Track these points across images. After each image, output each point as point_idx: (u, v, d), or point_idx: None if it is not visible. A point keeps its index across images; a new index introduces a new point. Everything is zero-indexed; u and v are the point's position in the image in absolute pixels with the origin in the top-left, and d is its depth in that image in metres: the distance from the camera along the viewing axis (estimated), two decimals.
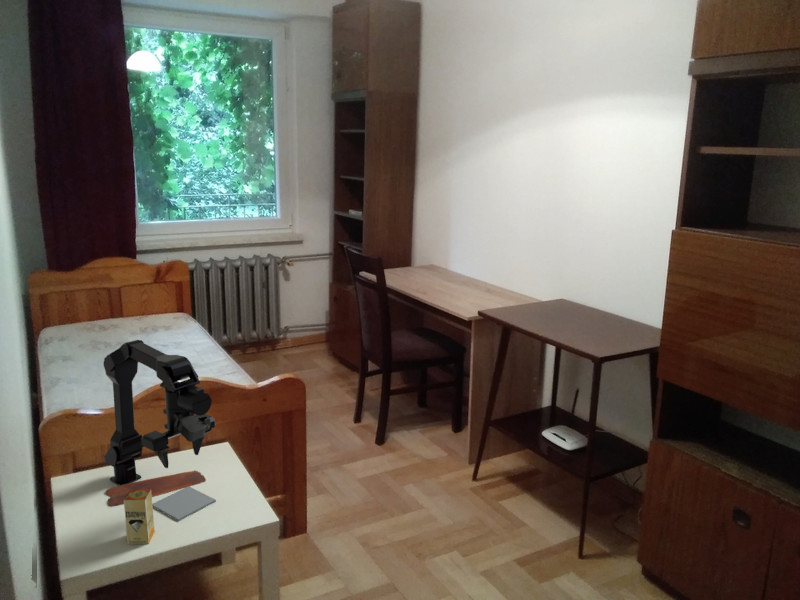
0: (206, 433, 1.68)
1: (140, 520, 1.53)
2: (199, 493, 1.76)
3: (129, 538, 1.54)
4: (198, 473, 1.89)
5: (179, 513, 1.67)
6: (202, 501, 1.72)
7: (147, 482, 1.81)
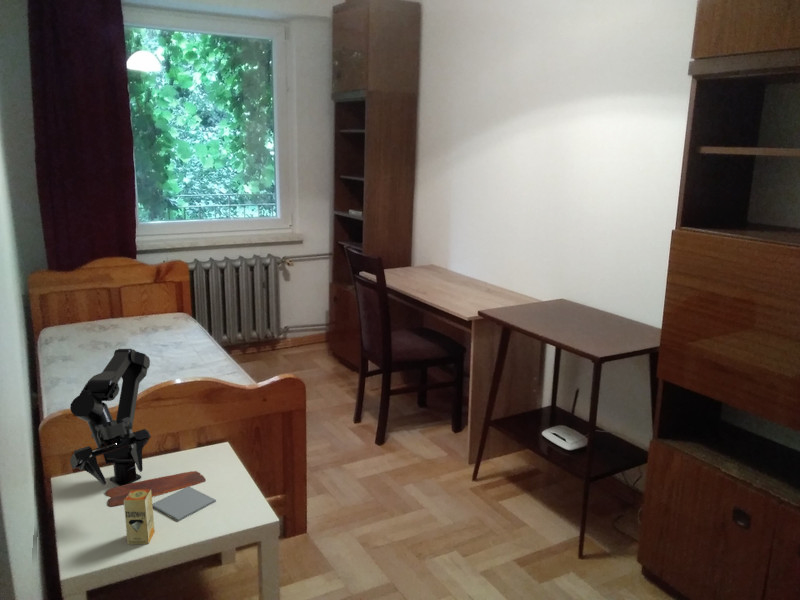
0: (142, 444, 1.64)
1: (140, 520, 1.53)
2: (199, 493, 1.76)
3: (129, 538, 1.54)
4: (198, 473, 1.88)
5: (179, 513, 1.67)
6: (202, 501, 1.72)
7: (147, 482, 1.81)
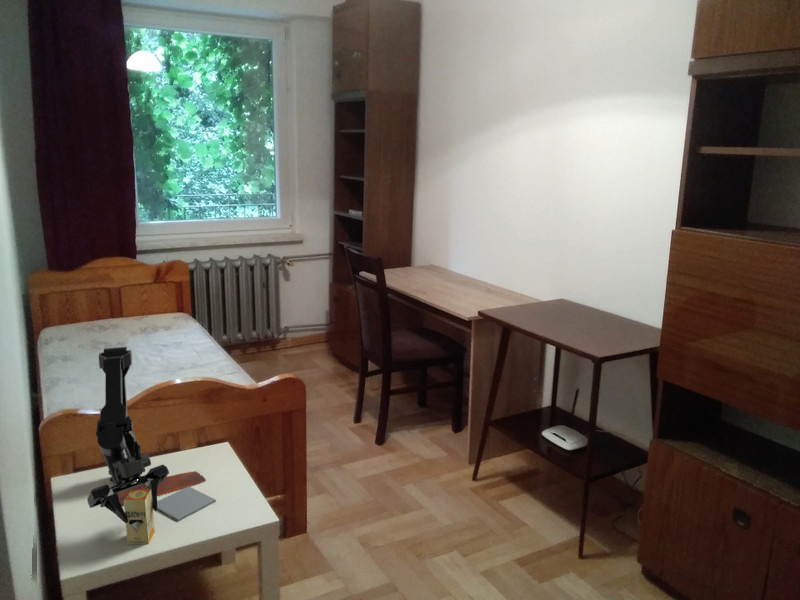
0: (156, 482, 1.59)
1: (140, 520, 1.53)
2: (199, 493, 1.76)
3: (129, 538, 1.54)
4: (197, 473, 1.88)
5: (179, 513, 1.67)
6: (202, 501, 1.72)
7: None
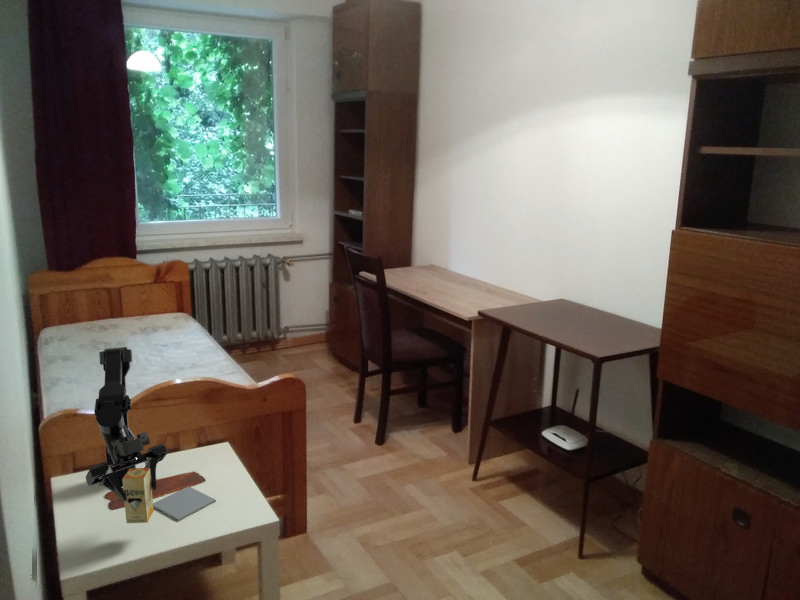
0: (155, 461, 1.58)
1: (139, 498, 1.52)
2: (199, 493, 1.76)
3: (127, 517, 1.53)
4: (197, 474, 1.88)
5: (179, 513, 1.67)
6: (202, 501, 1.72)
7: None
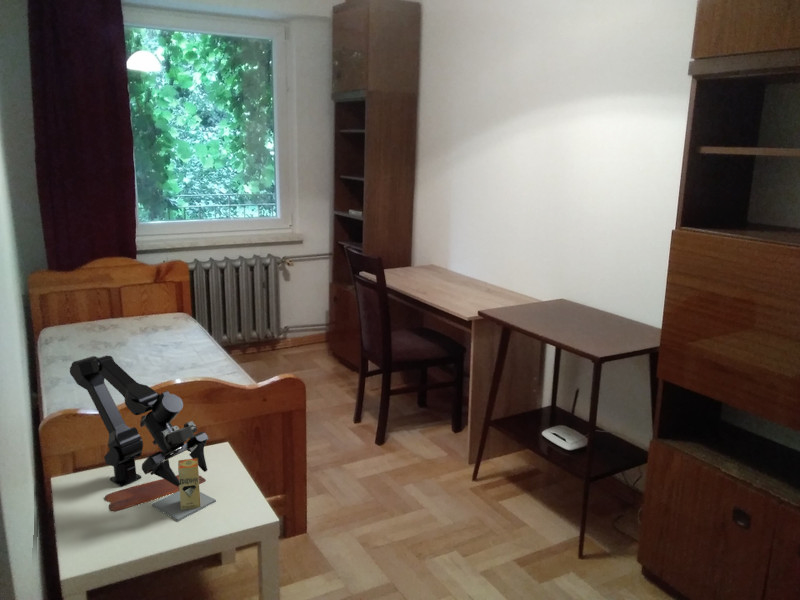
0: (203, 446, 1.74)
1: (193, 486, 1.68)
2: None
3: (182, 504, 1.68)
4: None
5: (179, 513, 1.67)
6: (202, 501, 1.72)
7: (146, 486, 1.80)
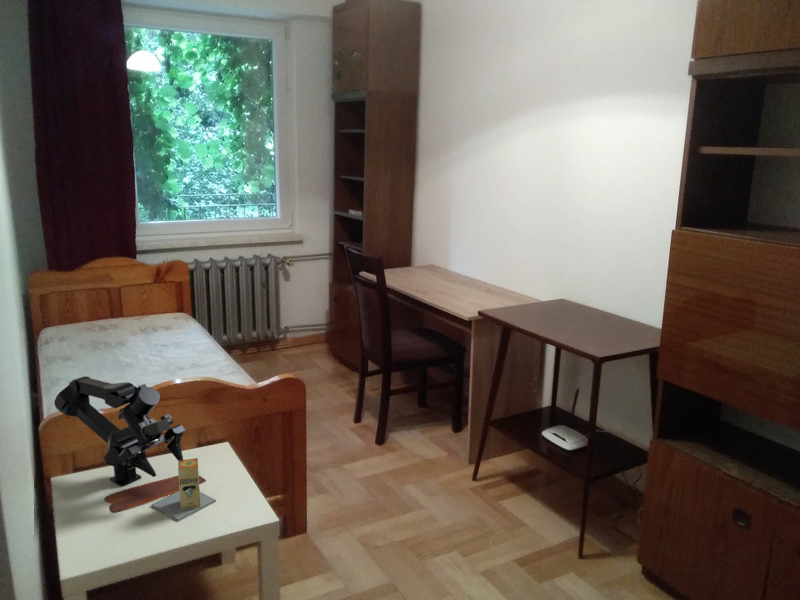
0: (179, 438, 1.79)
1: (193, 486, 1.68)
2: None
3: (182, 504, 1.68)
4: None
5: (179, 513, 1.67)
6: (202, 501, 1.72)
7: (146, 486, 1.79)
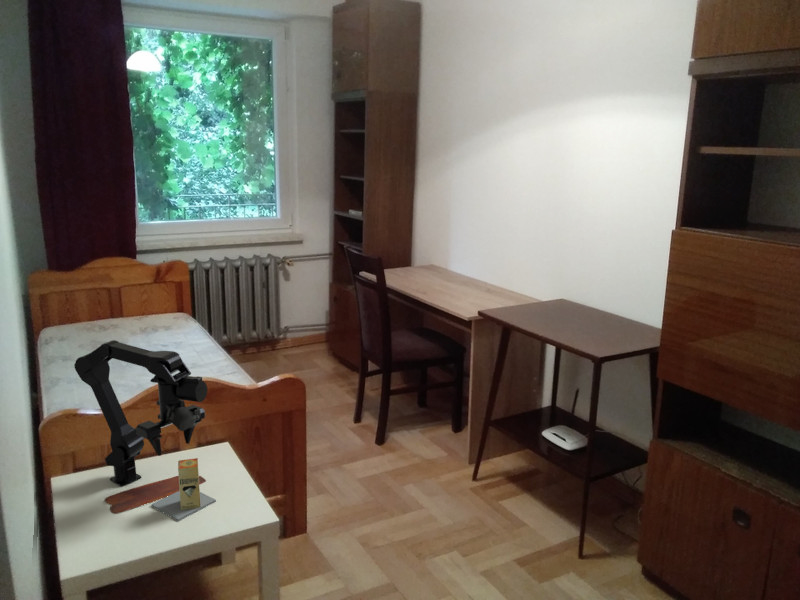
0: (196, 423, 1.80)
1: (193, 486, 1.68)
2: None
3: (182, 504, 1.68)
4: None
5: (179, 513, 1.67)
6: (202, 501, 1.72)
7: (146, 487, 1.79)
